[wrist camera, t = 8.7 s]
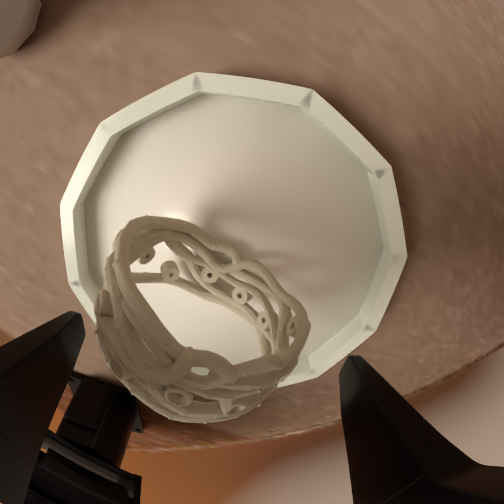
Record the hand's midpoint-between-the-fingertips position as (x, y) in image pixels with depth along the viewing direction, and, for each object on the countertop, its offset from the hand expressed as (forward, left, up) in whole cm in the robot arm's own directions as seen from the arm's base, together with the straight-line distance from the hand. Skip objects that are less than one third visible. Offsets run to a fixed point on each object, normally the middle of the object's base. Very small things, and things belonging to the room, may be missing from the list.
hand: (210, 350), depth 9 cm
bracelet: (0, +1, -6) cm, 6 cm away
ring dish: (0, 0, -7) cm, 7 cm away
